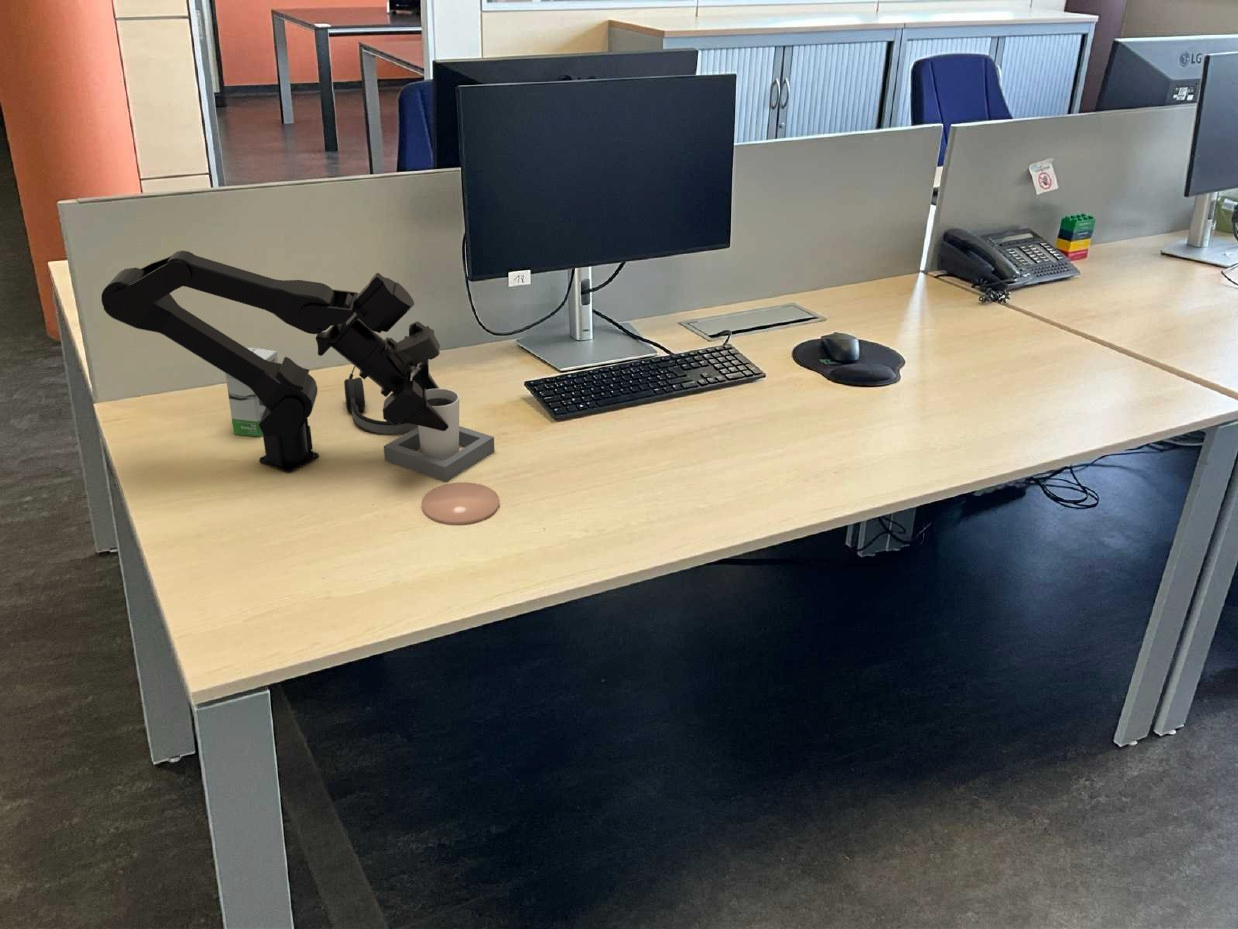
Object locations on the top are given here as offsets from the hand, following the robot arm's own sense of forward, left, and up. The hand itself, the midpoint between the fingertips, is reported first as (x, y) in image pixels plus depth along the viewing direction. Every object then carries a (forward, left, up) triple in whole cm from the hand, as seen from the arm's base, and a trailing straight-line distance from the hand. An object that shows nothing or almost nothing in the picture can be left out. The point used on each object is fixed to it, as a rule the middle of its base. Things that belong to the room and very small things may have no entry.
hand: (447, 417), depth 166 cm
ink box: (-9, +32, -7) cm, 34 cm away
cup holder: (-1, +1, -7) cm, 7 cm away
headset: (+7, +19, -7) cm, 21 cm away
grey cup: (-1, +1, -7) cm, 7 cm away
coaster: (-11, -11, -7) cm, 17 cm away
